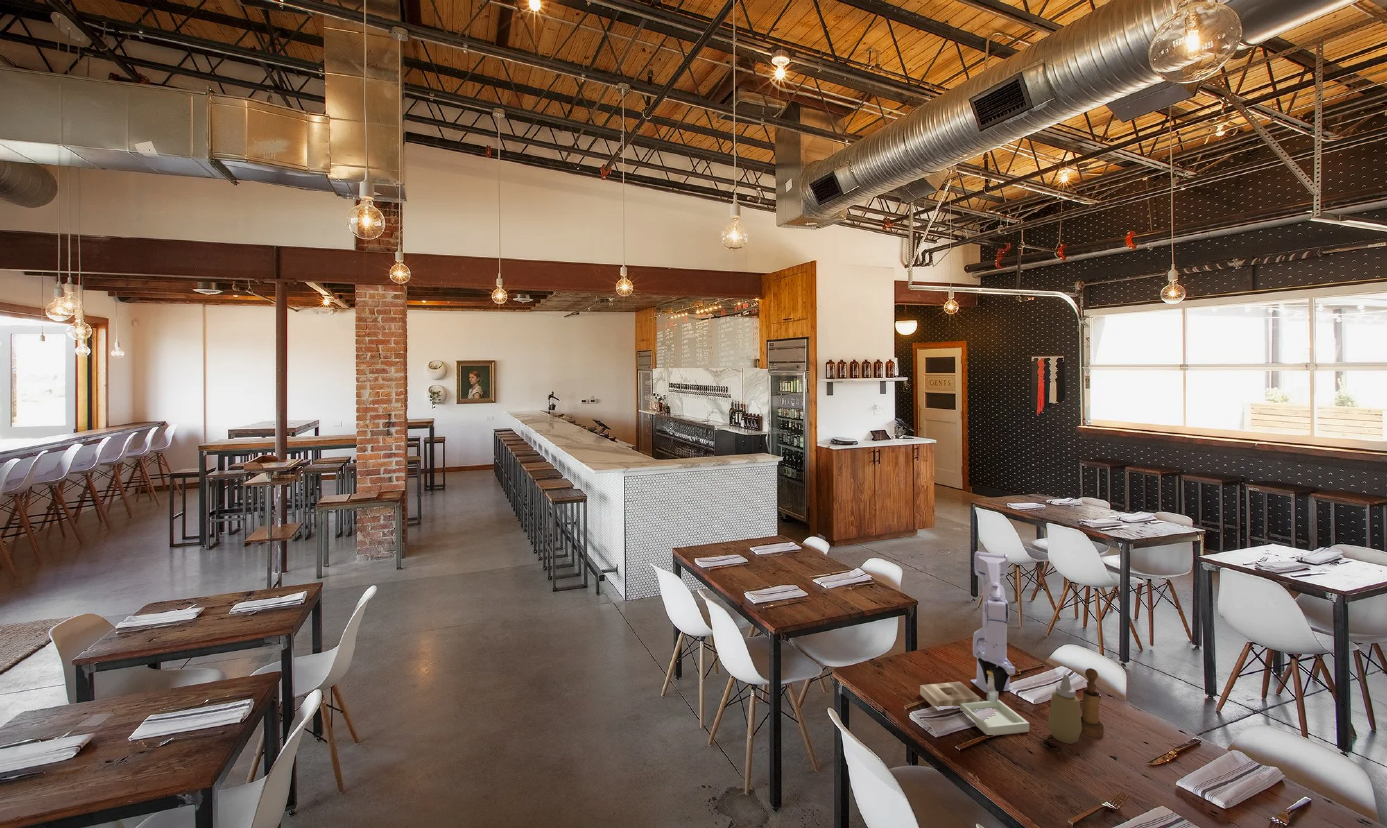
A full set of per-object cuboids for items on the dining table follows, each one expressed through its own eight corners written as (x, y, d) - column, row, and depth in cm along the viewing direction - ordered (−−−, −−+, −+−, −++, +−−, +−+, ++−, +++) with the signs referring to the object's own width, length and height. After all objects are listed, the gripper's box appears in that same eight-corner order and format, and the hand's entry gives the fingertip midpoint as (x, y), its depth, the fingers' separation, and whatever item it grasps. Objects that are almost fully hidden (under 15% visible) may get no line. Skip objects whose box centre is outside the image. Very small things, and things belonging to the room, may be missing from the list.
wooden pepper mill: (1108, 738, 169) (1109, 675, 168) (1082, 736, 170) (1084, 673, 169) (1097, 725, 175) (1099, 664, 174) (1072, 723, 176) (1074, 662, 176)
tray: (998, 707, 185) (999, 699, 185) (1029, 731, 172) (1029, 723, 172) (960, 711, 183) (960, 703, 183) (988, 735, 170) (988, 727, 170)
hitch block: (959, 690, 195) (960, 681, 195) (979, 706, 186) (979, 697, 185) (920, 694, 193) (920, 685, 193) (937, 710, 183) (937, 701, 183)
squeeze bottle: (1048, 741, 167) (1050, 678, 166) (1047, 727, 174) (1048, 666, 174) (1083, 749, 163) (1084, 684, 163) (1080, 734, 171) (1081, 672, 170)
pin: (994, 695, 180) (996, 667, 179) (1002, 703, 176) (1005, 674, 175) (981, 695, 180) (983, 668, 178) (990, 703, 176) (992, 675, 174)
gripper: (967, 632, 183) (966, 676, 183) (999, 653, 169) (998, 700, 169) (988, 631, 184) (987, 674, 185) (1022, 651, 170) (1021, 698, 170)
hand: (994, 687), depth 177 cm, fingers closed on pin, 4 cm apart
